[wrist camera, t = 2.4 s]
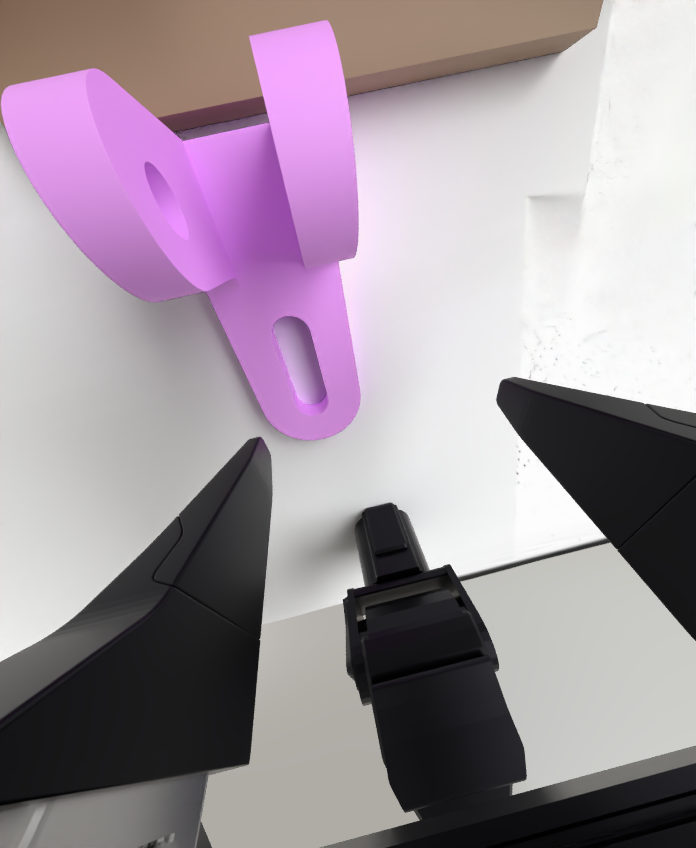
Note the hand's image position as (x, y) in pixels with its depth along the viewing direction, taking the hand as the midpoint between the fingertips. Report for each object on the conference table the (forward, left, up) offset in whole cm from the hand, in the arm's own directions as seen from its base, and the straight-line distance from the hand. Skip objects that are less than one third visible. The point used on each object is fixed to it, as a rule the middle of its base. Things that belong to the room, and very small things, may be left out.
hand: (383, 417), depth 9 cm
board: (+19, 0, -6) cm, 20 cm away
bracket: (+2, +3, -7) cm, 7 cm away
